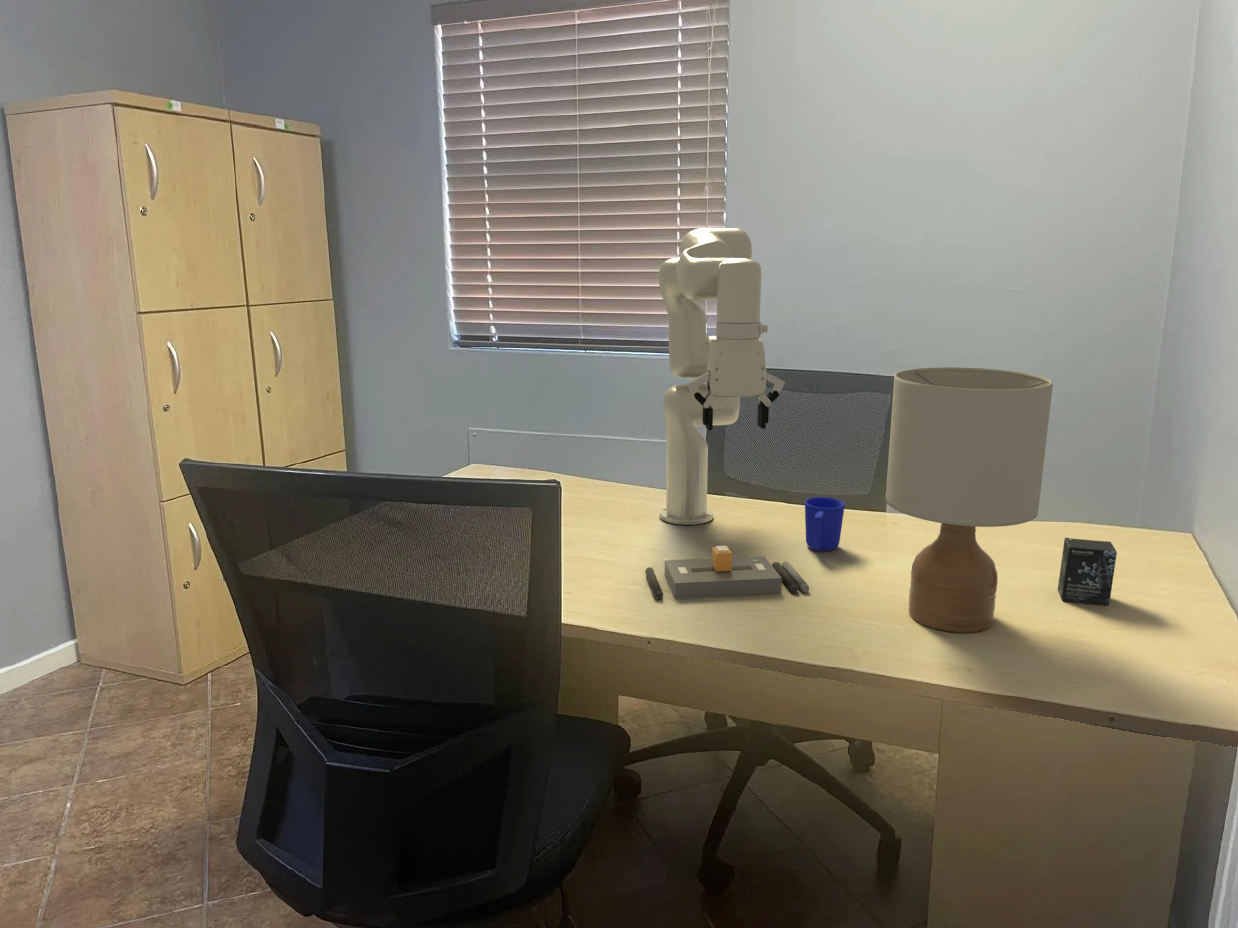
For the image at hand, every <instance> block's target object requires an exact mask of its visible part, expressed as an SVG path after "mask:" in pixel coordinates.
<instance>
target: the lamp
mask: <svg viewBox="0 0 1238 928" xmlns="http://www.w3.org/2000/svg"><path fill="white" fill-rule="evenodd" d="M893 378H894V379H893V390H892V391H893V392H892V403H891V404H892V406H891V420H890V431H889V433H890V434H889V435H890V436H889V446H888V447H889V448H888V463H887V476H886V487H885V488H886V489H885V490H886V491H885V503H886V504H887V505H888V506H889V507H891V508H892V509H893V510H895V511H897V512H899V513H901V514H905V515H907V516H910V517H913V518H917V519H919V520H923V521H924V520H925V521H927V522H932V523H933V522H934V523H938V524H940V526H939V527H940V528H939V534H938V536H937V538H935V540H934V541H933V542H932V543H929V544H928V545H927V546H925V547H923V548H922V550H920V551H919V552H918V553H916V554H915V556H914V559H913V562H912V564H911V571H910V588H909V594H908V595H909V596H908V597H909V598H908V613H909V615H910V616H911V618H912V619H913V620H915V621H916V622H917V623H919V624H920V625H923V626H926V627H929V628H931V629H935V630H938V631H944V632H951V633H965V634H967V633H968V634H969V633H970V634H971V633H977V632H982V631H985V630H988V629H990V628H991V627H992V626H993V623H994V621H995V620H994V615H995V608H996V607H995V606H996V596H997V590H998V589H997V588H998V582H999V581H998V577H999V576H998V570H997V568H996V564H995V561H994V559H992V557H991V556H990V555H989V554H988V553H987V552H986V551H985V550H984V549H983V548H982V547H981V546H980V544H979V543H978V540H977V535H976V531H977V528H979V527H980V528H995V527H996V528H997V527H1009V526H1017V525H1021V524H1026V523H1029V522H1031V521H1033V520H1034V519H1036V517H1038V515H1039V510H1040V509H1039V507H1040V499H1041V490H1042V482H1043V475H1044V474H1043V472H1044V463H1045V456H1046V446H1047V438H1048V430H1049V429H1048V428H1049V423H1050V422H1049V421H1050V413H1051V412H1050V411H1051V405H1052V404H1051V403H1052V395H1053V386H1054V381H1053V379H1050V378H1048V377H1046V376H1041V375H1037V374H1035V373H1028V372H1022V371H1015V370H1014V371H1013V370H1009V369H1008V370H1007V369H1006V370H1005V369H996V368H995V369H994V368H984V367H983V368H981V367H978V368H977V367H962V366H961V367H959V366H957V367H955V366H954V367H953V366H949V367H947V366H946V367H945V366H944V367H943V366H942V367H939V366H938V367H936V366H935V367H933V366H932V367H921V368H920V367H918V368H910V369H903V370H900V371H897V372H895V373H894V377H893ZM976 527H977V528H976Z"/></svg>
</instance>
